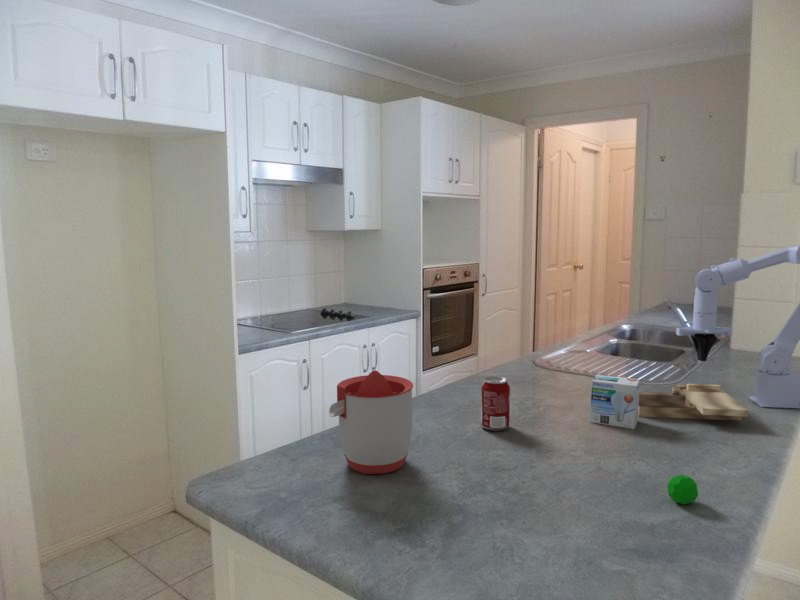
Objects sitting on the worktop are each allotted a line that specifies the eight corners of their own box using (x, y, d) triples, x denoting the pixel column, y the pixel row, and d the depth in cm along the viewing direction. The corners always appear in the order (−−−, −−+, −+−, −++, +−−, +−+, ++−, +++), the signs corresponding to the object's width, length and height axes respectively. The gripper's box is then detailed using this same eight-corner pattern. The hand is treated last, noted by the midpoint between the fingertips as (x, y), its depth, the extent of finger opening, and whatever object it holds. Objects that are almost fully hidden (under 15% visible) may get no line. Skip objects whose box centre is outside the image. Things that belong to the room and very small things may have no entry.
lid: (722, 396, 154) (723, 384, 154) (748, 416, 138) (749, 404, 138) (682, 394, 156) (682, 383, 155) (702, 414, 140) (703, 402, 140)
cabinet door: (682, 405, 148) (683, 390, 148) (685, 407, 146) (685, 392, 146) (636, 403, 150) (637, 388, 150) (638, 405, 148) (639, 391, 148)
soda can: (508, 433, 138) (509, 384, 136) (480, 431, 139) (480, 382, 138) (509, 423, 144) (510, 376, 143) (481, 421, 146) (482, 375, 144)
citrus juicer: (322, 456, 126) (319, 365, 123) (398, 444, 132) (397, 358, 129) (341, 487, 111) (338, 385, 108) (425, 472, 117) (425, 375, 114)
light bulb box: (589, 422, 144) (590, 380, 143) (593, 414, 150) (595, 373, 149) (635, 429, 139) (637, 385, 138) (638, 420, 145) (640, 378, 144)
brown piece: (713, 397, 163) (714, 386, 163) (741, 420, 144) (742, 408, 144) (623, 393, 167) (623, 383, 167) (639, 416, 148) (639, 404, 148)
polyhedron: (662, 502, 104) (663, 477, 104) (672, 492, 108) (673, 468, 107) (691, 512, 101) (693, 485, 100) (701, 501, 104) (703, 476, 104)
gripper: (685, 315, 158) (682, 364, 160) (739, 314, 158) (735, 363, 160) (673, 311, 165) (671, 358, 167) (725, 310, 165) (721, 357, 167)
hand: (701, 360), depth 164 cm, fingers closed
